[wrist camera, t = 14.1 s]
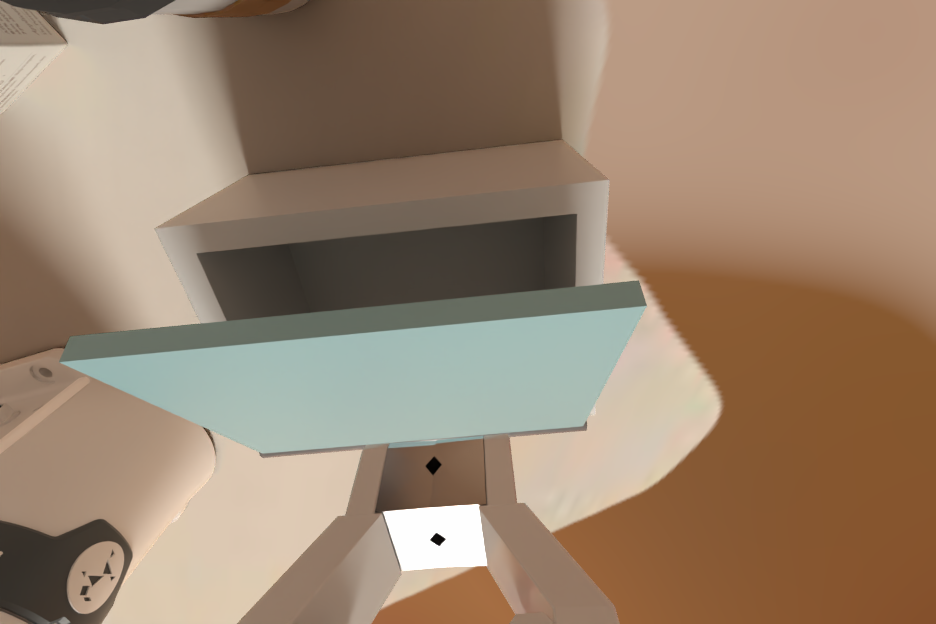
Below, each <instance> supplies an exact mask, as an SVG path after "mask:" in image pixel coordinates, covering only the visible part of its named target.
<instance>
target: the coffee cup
mask: <svg viewBox="0 0 936 624" xmlns="http://www.w3.org/2000/svg"><path fill="white" fill-rule="evenodd" d="M0 1H2V2H5V3H7V4H10V5H12V6H15V7H19V8H24V9H30V10H36V11H43V12H46V13H48V14H51V15H53V16H56V17H60V18H67V19H73V20H79V21H86V22H92V23H99V24H108V23H114V22H121V21H127V20H134V19H140V18H146V17H147V16H149V15H151V14H173V15H179V16H186V17H192V18H207V17H249V16H256V15H262V14H278V13H285V12H291V11H293V10H295V9H297V8H298V7H300V6H302V5H304V4H306V3H307V2H308V1H309V0H0Z"/></svg>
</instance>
